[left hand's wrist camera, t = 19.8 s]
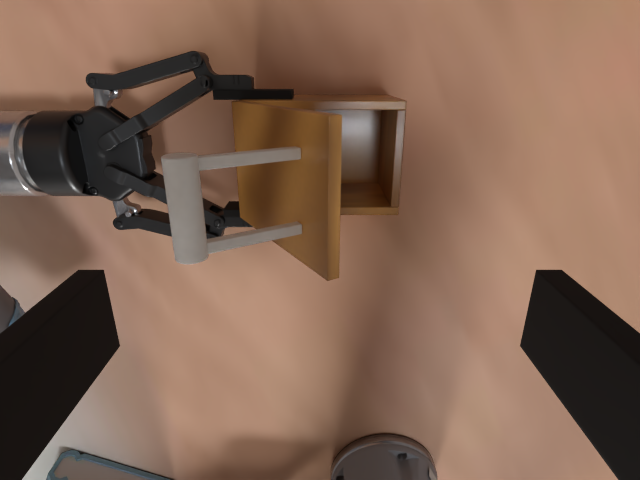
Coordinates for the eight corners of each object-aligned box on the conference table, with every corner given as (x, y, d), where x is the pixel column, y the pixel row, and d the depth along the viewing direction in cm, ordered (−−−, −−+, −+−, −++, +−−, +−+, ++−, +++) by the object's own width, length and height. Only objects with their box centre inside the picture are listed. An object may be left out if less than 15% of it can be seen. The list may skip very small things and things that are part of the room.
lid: (342, 114, 22) (172, 124, 18) (339, 277, 26) (196, 318, 21) (241, 100, 33) (122, 104, 29) (249, 215, 37) (143, 234, 32)
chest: (389, 94, 42) (406, 100, 33) (383, 188, 46) (398, 215, 37) (254, 94, 42) (237, 100, 33) (259, 187, 46) (245, 214, 37)
